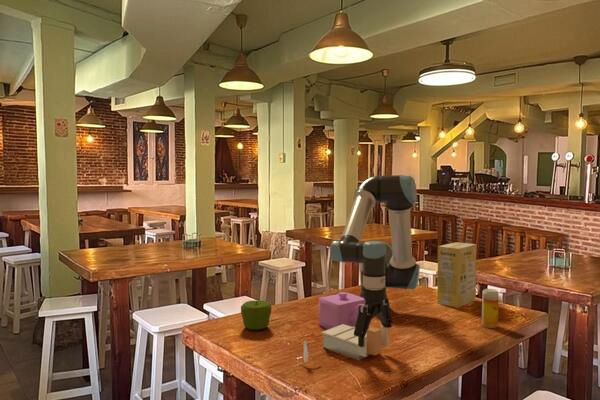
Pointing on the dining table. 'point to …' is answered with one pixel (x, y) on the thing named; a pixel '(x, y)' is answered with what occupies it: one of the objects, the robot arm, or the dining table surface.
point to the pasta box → (456, 274)
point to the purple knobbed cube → (339, 310)
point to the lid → (348, 336)
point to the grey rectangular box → (342, 347)
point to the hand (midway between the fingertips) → (373, 350)
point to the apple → (256, 314)
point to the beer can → (490, 308)
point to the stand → (306, 351)
